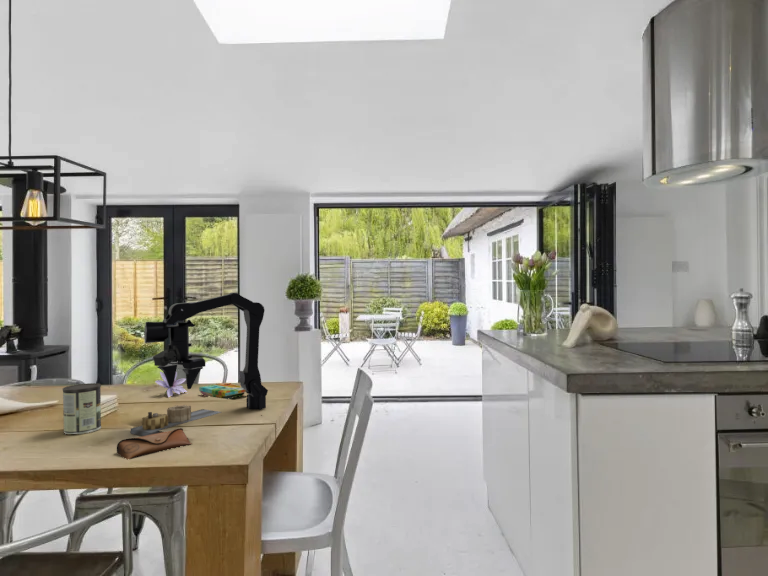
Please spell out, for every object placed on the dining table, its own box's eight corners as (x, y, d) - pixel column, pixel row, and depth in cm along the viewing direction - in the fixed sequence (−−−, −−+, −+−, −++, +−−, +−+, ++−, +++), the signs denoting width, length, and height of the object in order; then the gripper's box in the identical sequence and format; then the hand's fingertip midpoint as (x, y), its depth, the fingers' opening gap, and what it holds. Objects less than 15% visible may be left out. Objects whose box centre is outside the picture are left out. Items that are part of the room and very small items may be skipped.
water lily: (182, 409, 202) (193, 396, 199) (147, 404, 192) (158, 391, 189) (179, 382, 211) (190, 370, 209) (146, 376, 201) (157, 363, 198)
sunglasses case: (126, 460, 120) (121, 435, 122) (118, 468, 124) (114, 444, 126) (195, 443, 133) (190, 421, 135) (186, 451, 137) (181, 429, 139)
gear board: (222, 416, 162) (221, 398, 163) (150, 437, 139) (150, 416, 139) (202, 413, 167) (202, 395, 167) (130, 433, 144) (130, 413, 144)
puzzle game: (224, 380, 207) (250, 386, 194) (224, 391, 206) (250, 397, 194) (199, 385, 197) (225, 390, 185) (199, 396, 197) (225, 402, 185)
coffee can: (82, 425, 154) (82, 382, 154) (108, 426, 152) (108, 383, 152) (54, 434, 144) (54, 388, 144) (81, 436, 142) (81, 390, 142)
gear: (195, 418, 155) (195, 406, 155) (176, 423, 148) (176, 411, 148) (181, 416, 158) (181, 404, 158) (162, 421, 152) (162, 408, 152)
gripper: (139, 342, 152) (139, 390, 152) (176, 344, 143) (177, 395, 142) (169, 339, 161) (169, 383, 161) (206, 341, 152) (206, 388, 152)
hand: (179, 387), depth 154 cm, fingers open, 9 cm apart
